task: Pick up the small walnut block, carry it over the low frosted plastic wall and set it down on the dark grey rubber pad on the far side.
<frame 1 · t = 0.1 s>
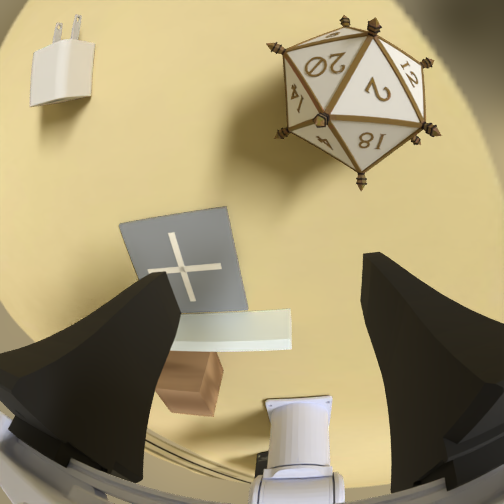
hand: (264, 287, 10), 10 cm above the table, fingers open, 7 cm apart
game die: (339, 97, 15), on the table
usb wall charger: (80, 59, 14), on the table
walnut block: (198, 356, 27), on the table
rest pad: (183, 267, 22), on the table
frosted wall: (201, 318, 25), on the table
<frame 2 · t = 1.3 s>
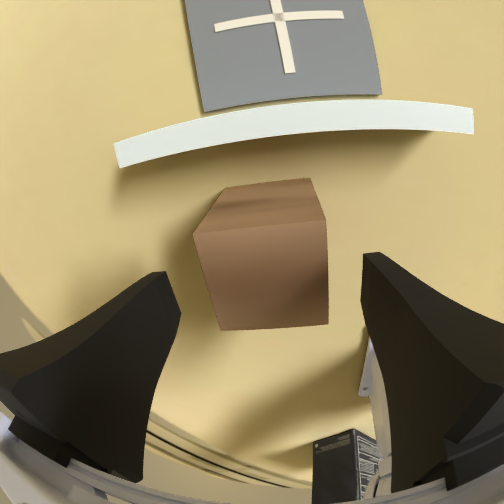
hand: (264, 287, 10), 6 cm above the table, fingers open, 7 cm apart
walnut block: (272, 221, 15), on the table
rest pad: (279, 19, 10), on the table
small box: (350, 443, 29), on the table
frosted wall: (297, 116, 12), on the table
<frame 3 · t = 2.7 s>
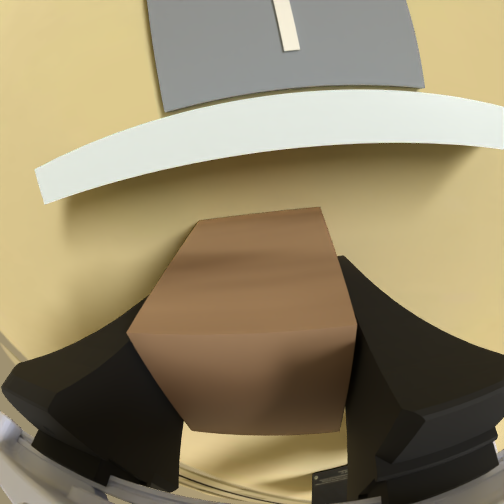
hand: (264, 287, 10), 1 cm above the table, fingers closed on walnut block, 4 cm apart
walnut block: (266, 266, 11), on the table, touching gripper
small box: (351, 472, 25), on the table
frosted wall: (302, 116, 8), on the table
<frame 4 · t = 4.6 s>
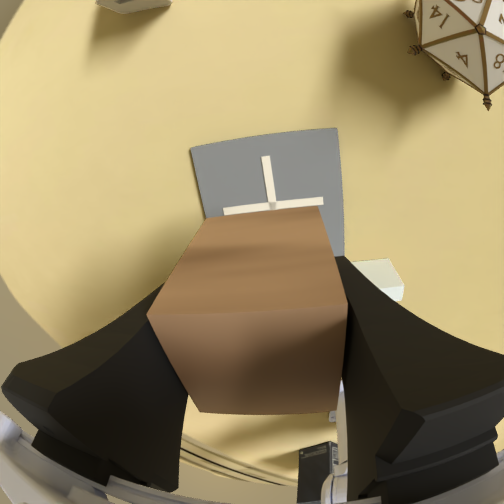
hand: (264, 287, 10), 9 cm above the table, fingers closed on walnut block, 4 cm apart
game die: (437, 41, 11), on the table
walnut block: (268, 260, 12), point 7 cm above the table, touching gripper
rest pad: (273, 203, 18), on the table
small box: (329, 451, 37), on the table
frosted wall: (282, 275, 20), on the table
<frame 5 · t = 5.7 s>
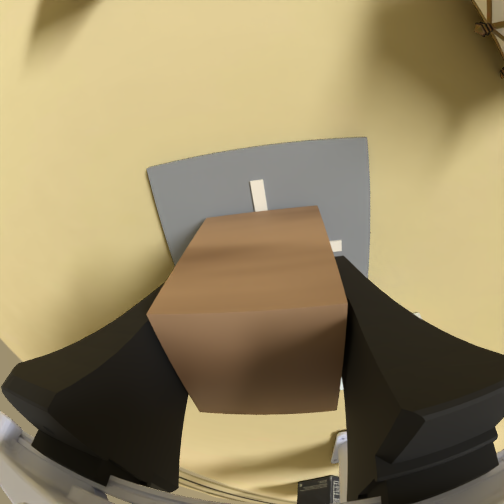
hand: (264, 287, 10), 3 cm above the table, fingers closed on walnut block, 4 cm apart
game die: (490, 26, 5), on the table
walnut block: (268, 260, 12), point 1 cm above the table, touching gripper
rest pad: (268, 248, 12), on the table
small box: (330, 481, 32), on the table
when the fingers open (3 cm above the table, at t = 6.5 s): walnut block stays where it is, resting on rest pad.
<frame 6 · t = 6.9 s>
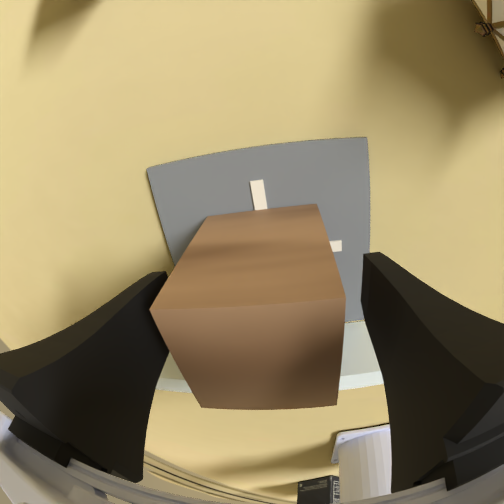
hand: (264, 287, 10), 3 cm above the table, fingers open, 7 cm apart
game die: (490, 26, 5), on the table
walnut block: (268, 258, 12), resting on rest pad
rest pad: (268, 248, 12), on the table
small box: (330, 481, 32), on the table
frosted wall: (281, 336, 15), on the table
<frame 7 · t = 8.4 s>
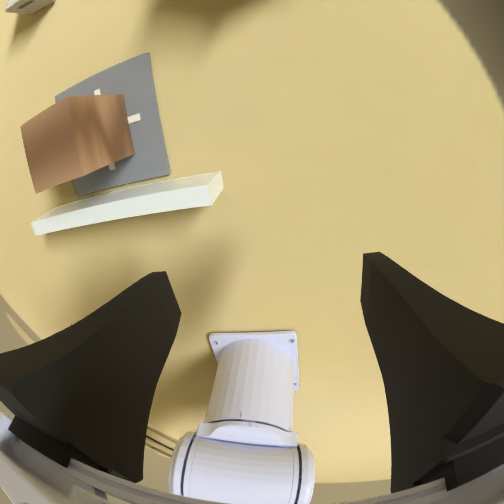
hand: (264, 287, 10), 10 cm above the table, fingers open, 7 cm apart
walnut block: (103, 132, 17), resting on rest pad
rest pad: (106, 128, 17), on the table
frosted wall: (122, 197, 19), on the table
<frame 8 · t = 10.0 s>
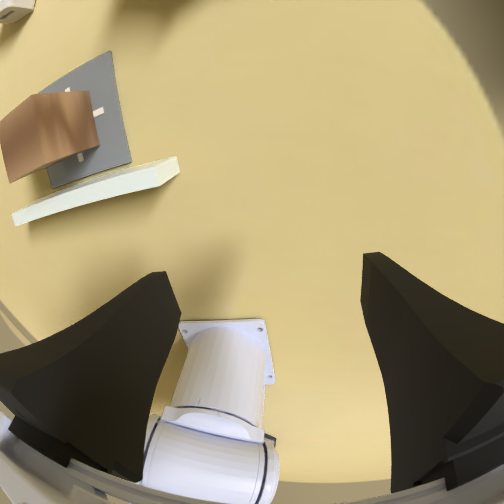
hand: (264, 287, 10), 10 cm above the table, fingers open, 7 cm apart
walnut block: (73, 127, 16), resting on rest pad
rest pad: (75, 123, 17), on the table
frosted wall: (91, 186, 19), on the table
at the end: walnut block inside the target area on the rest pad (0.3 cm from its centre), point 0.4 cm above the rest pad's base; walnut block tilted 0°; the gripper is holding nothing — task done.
